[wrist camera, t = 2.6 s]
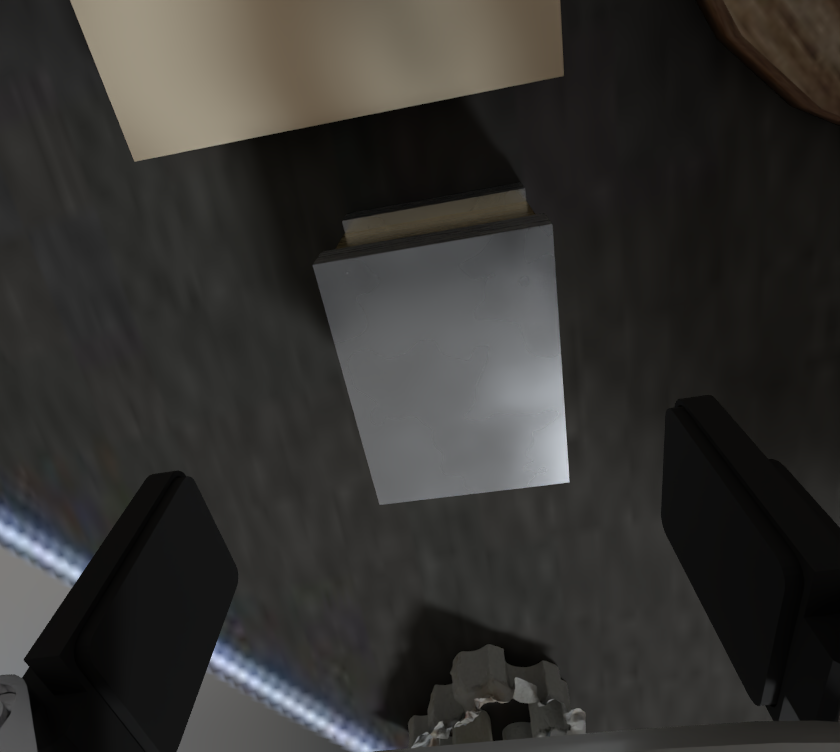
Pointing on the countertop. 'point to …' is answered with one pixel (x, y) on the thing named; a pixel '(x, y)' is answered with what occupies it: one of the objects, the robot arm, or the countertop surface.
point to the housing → (450, 343)
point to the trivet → (785, 47)
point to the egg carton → (489, 682)
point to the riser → (303, 61)
